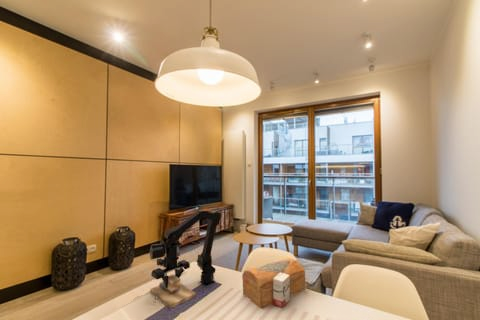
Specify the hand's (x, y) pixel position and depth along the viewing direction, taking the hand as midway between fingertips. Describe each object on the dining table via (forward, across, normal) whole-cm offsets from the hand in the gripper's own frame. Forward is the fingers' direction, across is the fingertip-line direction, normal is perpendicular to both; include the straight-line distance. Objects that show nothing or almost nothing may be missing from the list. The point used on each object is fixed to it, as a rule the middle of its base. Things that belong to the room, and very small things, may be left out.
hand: (171, 286), depth 118 cm
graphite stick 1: (+2, 0, -6) cm, 6 cm away
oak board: (+3, 0, +2) cm, 4 cm away
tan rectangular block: (+1, 0, +1) cm, 1 cm away
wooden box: (+4, -37, +38) cm, 53 cm away
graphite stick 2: (+2, 0, -4) cm, 4 cm away
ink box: (+3, -31, +46) cm, 55 cm away
